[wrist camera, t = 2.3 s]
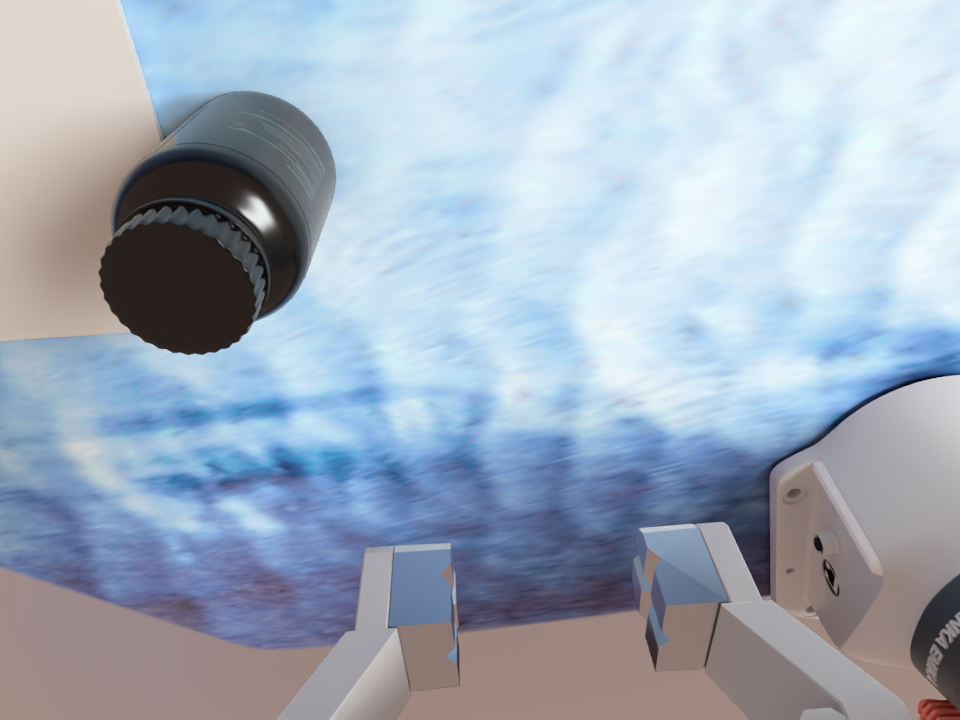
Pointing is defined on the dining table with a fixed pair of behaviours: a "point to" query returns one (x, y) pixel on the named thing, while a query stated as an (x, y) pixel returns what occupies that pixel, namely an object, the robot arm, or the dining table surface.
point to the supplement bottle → (218, 223)
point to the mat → (64, 159)
